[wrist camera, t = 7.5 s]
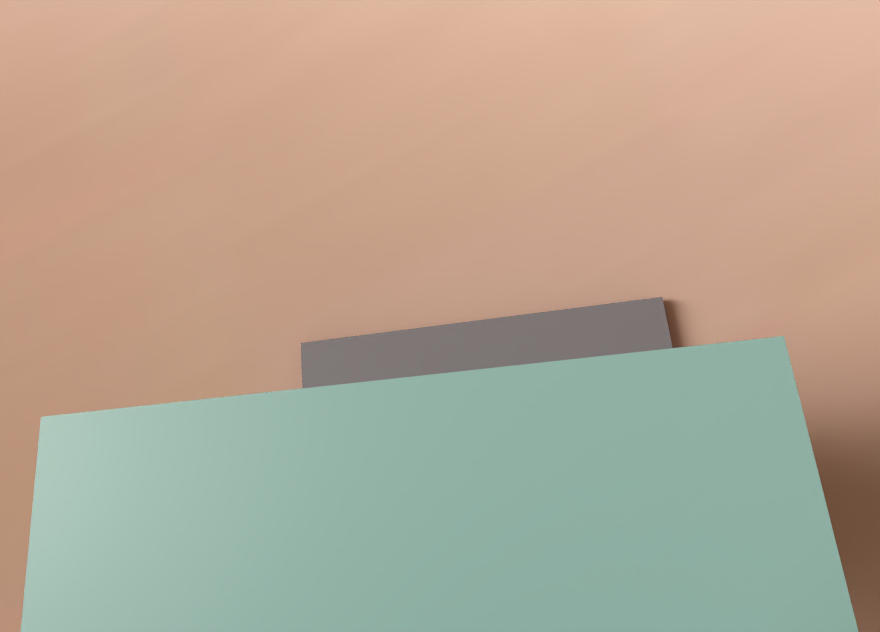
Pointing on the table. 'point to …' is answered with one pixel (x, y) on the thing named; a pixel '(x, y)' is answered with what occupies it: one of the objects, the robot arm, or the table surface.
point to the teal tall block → (448, 505)
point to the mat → (488, 343)
